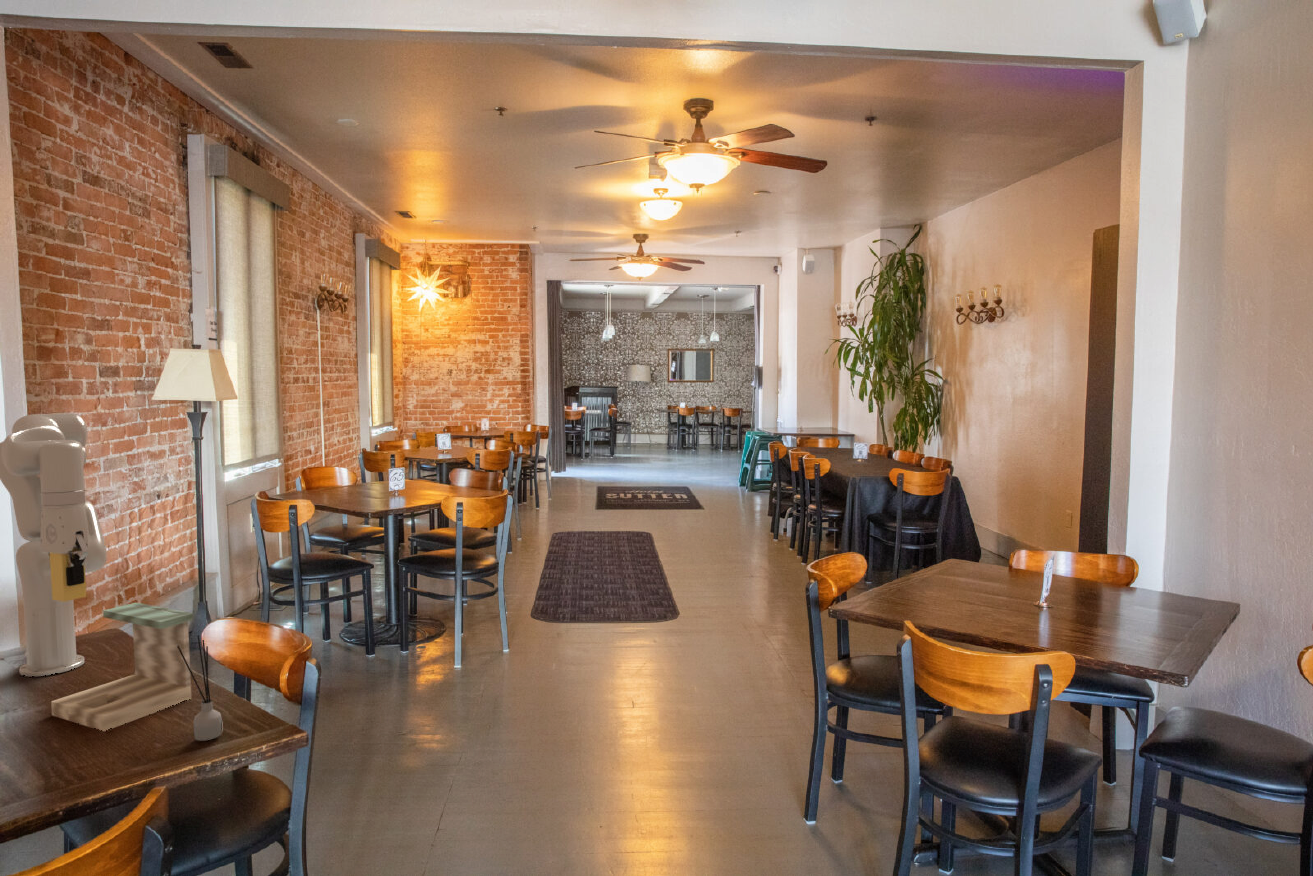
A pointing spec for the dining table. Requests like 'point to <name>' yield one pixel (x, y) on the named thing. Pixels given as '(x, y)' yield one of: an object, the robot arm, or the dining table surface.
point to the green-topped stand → (138, 672)
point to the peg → (64, 579)
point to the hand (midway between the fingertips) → (68, 582)
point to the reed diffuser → (205, 707)
